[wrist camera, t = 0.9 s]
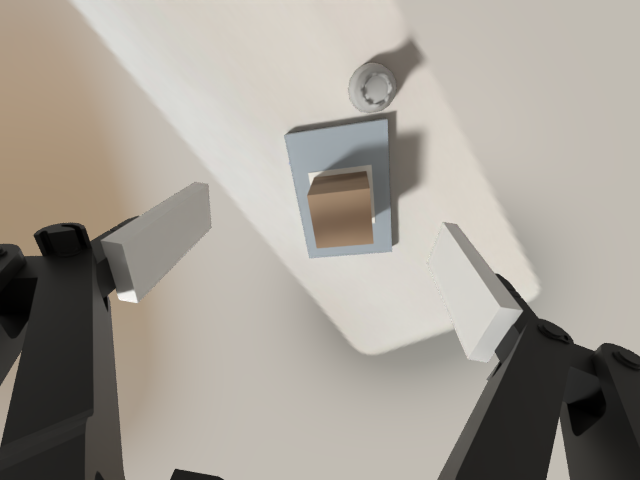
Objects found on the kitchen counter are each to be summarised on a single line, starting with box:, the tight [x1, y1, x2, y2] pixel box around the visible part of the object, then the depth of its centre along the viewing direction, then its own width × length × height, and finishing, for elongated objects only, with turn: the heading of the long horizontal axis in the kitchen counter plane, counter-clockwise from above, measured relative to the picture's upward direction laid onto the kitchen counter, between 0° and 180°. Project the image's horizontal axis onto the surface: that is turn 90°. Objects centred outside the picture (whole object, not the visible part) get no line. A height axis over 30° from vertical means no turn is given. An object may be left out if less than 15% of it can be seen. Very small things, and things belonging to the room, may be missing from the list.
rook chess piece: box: [348, 62, 396, 113], centre depth 25 cm, size 4×4×8 cm
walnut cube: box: [307, 171, 374, 249], centre depth 30 cm, size 6×6×6 cm
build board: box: [284, 118, 392, 258], centre depth 33 cm, size 16×11×1 cm
